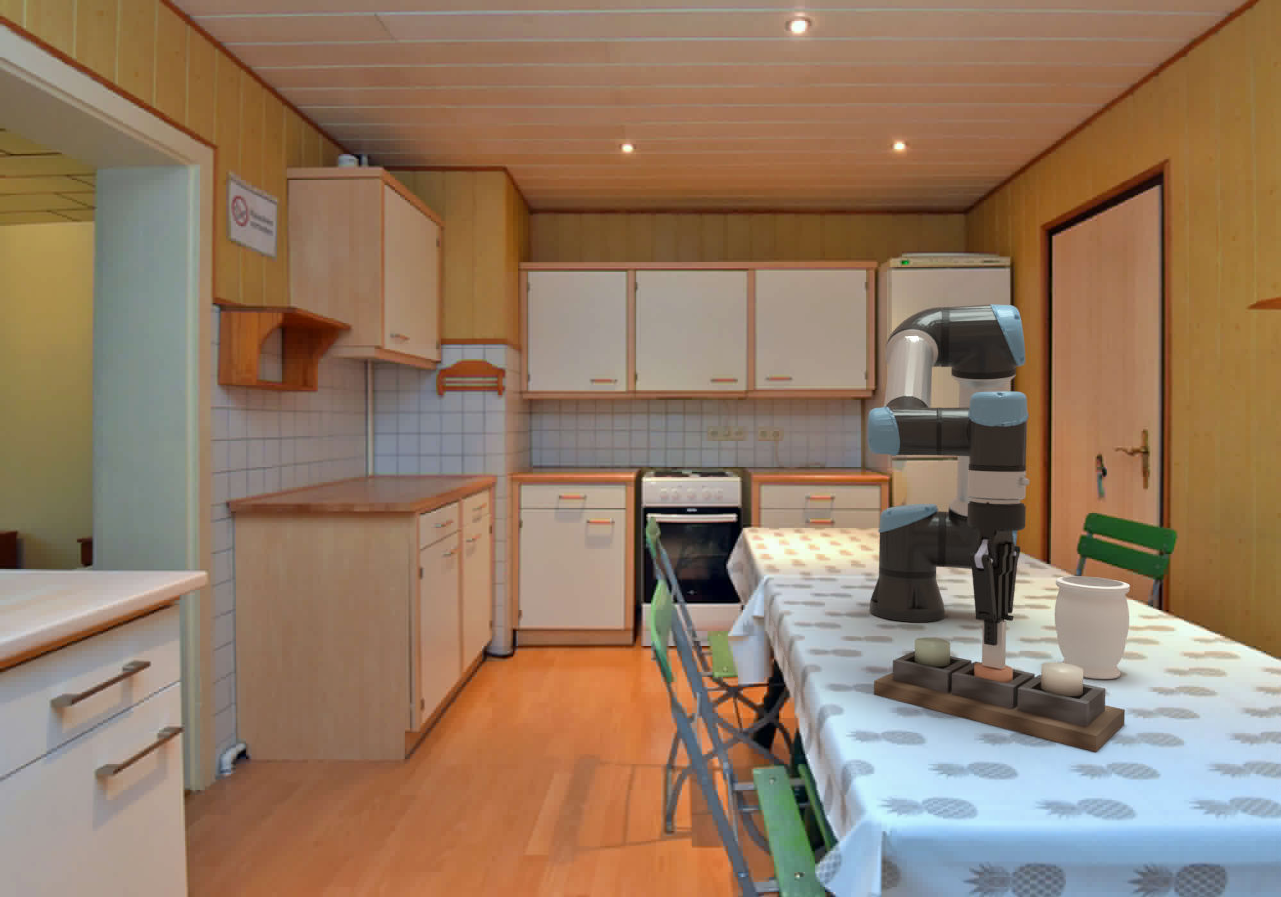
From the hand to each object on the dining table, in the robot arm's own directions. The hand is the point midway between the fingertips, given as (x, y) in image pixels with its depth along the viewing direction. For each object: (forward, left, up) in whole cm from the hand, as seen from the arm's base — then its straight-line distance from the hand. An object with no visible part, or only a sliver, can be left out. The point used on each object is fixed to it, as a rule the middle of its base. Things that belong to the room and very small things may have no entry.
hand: (993, 665), depth 114 cm
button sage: (-9, 0, -1) cm, 9 cm away
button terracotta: (0, 0, -3) cm, 3 cm away
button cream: (+9, 0, -1) cm, 9 cm away
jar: (+5, +29, -6) cm, 30 cm away
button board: (0, 0, -6) cm, 6 cm away
